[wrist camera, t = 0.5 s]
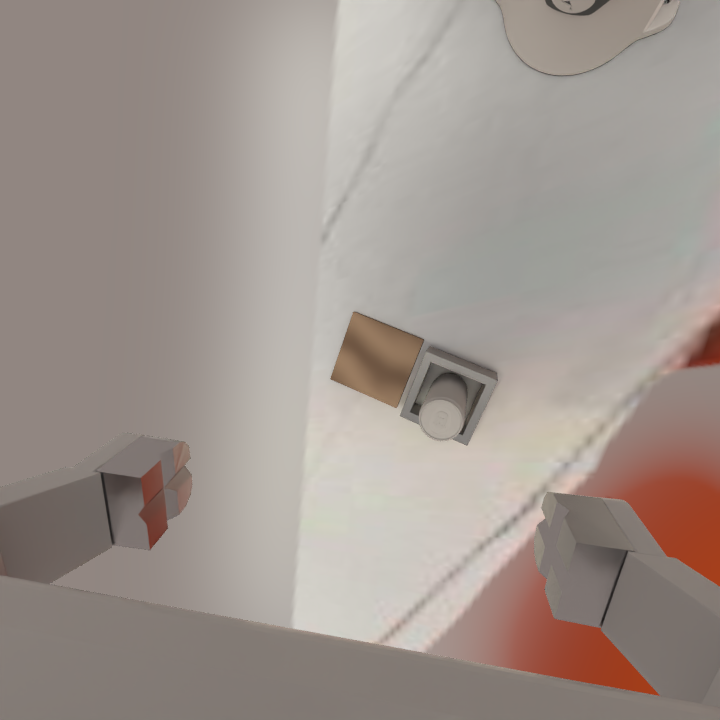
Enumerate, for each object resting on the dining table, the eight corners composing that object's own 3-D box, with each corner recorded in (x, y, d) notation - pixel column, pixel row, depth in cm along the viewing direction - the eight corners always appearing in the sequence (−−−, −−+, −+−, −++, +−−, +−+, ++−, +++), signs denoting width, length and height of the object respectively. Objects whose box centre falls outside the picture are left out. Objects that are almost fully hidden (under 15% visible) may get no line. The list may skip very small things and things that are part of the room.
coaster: (354, 311, 57) (353, 312, 56) (424, 339, 55) (423, 340, 54) (331, 378, 59) (330, 379, 59) (397, 406, 58) (396, 408, 57)
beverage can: (426, 401, 56) (412, 433, 45) (436, 367, 55) (424, 392, 44) (461, 412, 55) (456, 448, 44) (473, 378, 54) (470, 407, 43)
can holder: (429, 346, 55) (426, 351, 51) (496, 373, 53) (497, 380, 49) (405, 406, 57) (399, 415, 54) (468, 434, 56) (467, 445, 52)
